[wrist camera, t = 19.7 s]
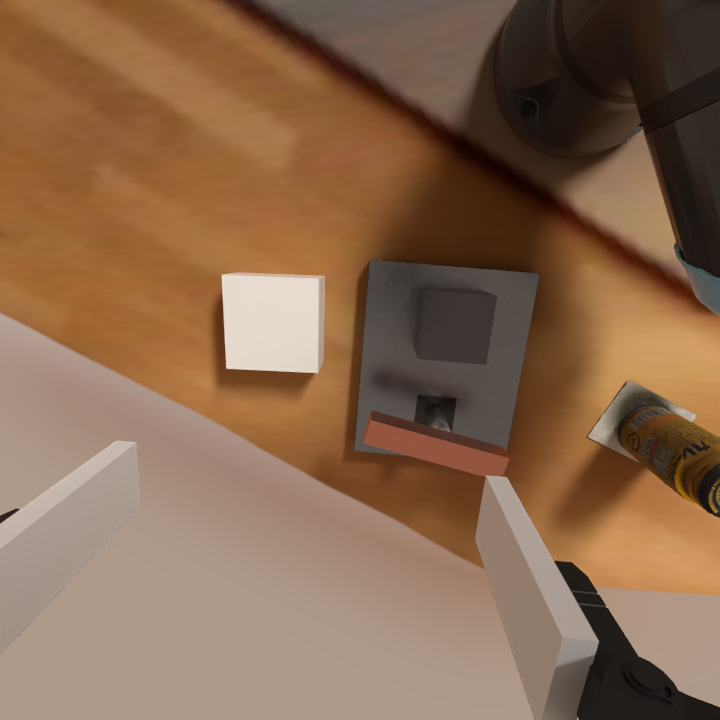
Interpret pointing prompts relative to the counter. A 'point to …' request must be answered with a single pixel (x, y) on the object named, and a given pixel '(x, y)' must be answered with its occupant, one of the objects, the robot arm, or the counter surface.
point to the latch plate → (442, 376)
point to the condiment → (664, 443)
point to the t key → (435, 443)
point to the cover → (274, 321)
